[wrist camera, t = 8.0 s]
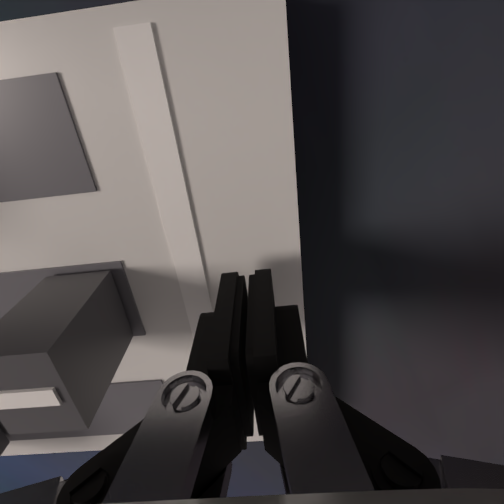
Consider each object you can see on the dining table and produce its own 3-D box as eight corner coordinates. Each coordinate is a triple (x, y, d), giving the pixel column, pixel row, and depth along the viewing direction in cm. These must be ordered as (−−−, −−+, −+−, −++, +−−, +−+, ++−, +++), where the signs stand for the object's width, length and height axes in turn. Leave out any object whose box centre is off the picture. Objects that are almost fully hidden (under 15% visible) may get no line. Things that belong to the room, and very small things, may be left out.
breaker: (110, 270, 12) (44, 355, 8) (133, 335, 13) (86, 433, 10) (45, 276, 12) (-46, 362, 8) (75, 340, 13) (7, 438, 10)
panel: (279, -5, 10) (284, -24, 8) (306, 402, 18) (312, 440, 16) (-406, 99, 12) (-534, 103, 10) (-100, 429, 20) (-137, 466, 18)
